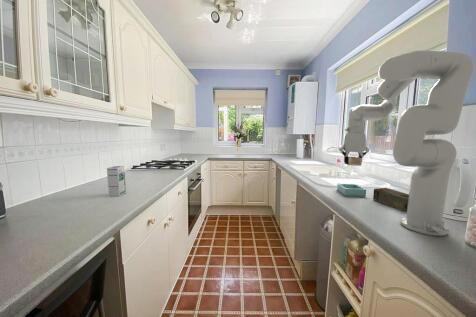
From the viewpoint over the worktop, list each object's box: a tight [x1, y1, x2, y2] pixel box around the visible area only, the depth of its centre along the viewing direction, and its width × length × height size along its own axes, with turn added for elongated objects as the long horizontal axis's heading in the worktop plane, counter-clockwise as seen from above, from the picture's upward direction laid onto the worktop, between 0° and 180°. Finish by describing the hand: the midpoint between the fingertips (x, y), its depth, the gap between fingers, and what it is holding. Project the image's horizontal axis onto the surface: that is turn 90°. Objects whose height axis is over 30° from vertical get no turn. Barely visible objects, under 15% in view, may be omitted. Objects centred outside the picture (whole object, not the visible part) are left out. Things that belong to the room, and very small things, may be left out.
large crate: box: [336, 183, 367, 198], centre depth 117 cm, size 12×11×4 cm
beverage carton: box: [372, 187, 409, 213], centre depth 98 cm, size 8×19×7 cm, turn 14°
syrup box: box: [106, 165, 127, 197], centre depth 107 cm, size 6×6×14 cm
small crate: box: [344, 156, 363, 167], centre depth 115 cm, size 7×6×4 cm
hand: (352, 163), depth 115 cm, fingers closed on small crate, 6 cm apart
